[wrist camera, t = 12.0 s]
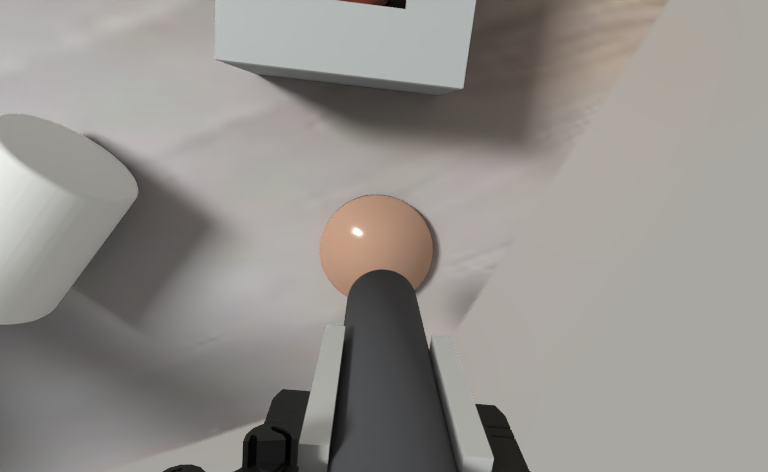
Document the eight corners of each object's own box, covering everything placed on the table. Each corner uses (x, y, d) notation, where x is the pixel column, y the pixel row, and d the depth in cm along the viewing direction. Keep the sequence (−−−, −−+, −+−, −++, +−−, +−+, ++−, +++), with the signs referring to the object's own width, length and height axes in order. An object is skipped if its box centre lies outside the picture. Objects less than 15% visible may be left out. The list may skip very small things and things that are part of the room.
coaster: (317, 296, 33) (316, 299, 33) (325, 189, 31) (324, 190, 31) (424, 305, 34) (425, 309, 33) (439, 200, 32) (440, 202, 31)
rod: (344, 330, 24) (299, 663, 9) (350, 266, 23) (311, 525, 8) (411, 336, 24) (471, 673, 9) (420, 272, 23) (500, 538, 9)
